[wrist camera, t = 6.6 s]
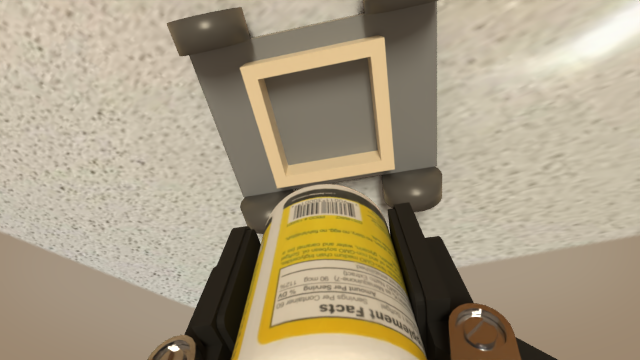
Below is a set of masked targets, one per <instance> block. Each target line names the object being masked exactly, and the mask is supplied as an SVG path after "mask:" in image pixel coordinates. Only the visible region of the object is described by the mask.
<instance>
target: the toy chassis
mask: <svg viewBox="0 0 640 360" xmlns="http://www.w3.org/2000/svg"><path fill="white" fill-rule="evenodd" d="M437 1H438V0H363V5H364V13H363V14H358V15H354V16H349V17H345V18H340V19H335V20H331V21H326V22H322V23H317V24H313V25H308V26H304V27H299V28H294V29H290V30H285V31H281V32H276V33H272V34H267V35H262V36H258V37H253V38H250V35H249V32H248V28H247V25H246V21H245V18H244V14H243V10H242V7H239V8H232V9H226V10H221V11H215V12H210V13H206V14H201V15H196V16H192V17H188V18H184V19H180V20H176V21H172V22H169V23H167V26H168V28H169V31H170V33H171V36H172V38H173V41H174V43H175V46H176V48H177V51H178V53H179V56H187V55H189V56H190V59H191V61H192V64H193V67H194V69H195V72H196V74H197V77H198V80H199V82H200V85H201V87H202V90H203V93H204V95H205V98H206V100H207V103H208V106H209V108H210V111H211V113H212V116H213V119H214V121H215V124H216V126H217V129H218V132H219V134H220V137H221V139H222V142H223V145H224V147H225V150H226V152H227V155H228V158H229V160H230V163H231V165H232V168H233V171H234V173H235V176H236V178H237V181H238V184H239V186H240V189H241V191H242V194H243V197H245V198H244V199H243V201H242V202H241V205H240V208H241V211H242V213H243V216H244V219H245V221H246V224H247V226H249V227H250V229H254V230H255V231H256V233H259V234H264V230H265V227H266V224H267V221H268V219H269V217H270V215H271V213H272V211H273V210H274V208H275V207H276V206H277V205H278V204H279V203H280V202H281V201H282V200H283V199H284V198H285V197H287V196H288V195H290V194H291V193H293V192H294V191H293V189H297V188H303V187H309V186H313V185H321V184H328V183H334V182H340V181H346V180H353V179H359V178H365V177H371V176H378V175H382V184H383V194H384V200H385V202H386V203H387V204H388V205H389V206H390V207H392V208H393V204H400V203H407V202H409V203H410V205H411V207H412V209H413V212H419V211H424V210H428V209H430V208H432V207H434V206H436V205H437V204H438V203H439V202H440V201H441V198H442V173H441V171H440V170H439V169H438V168H436V167H435V166H437Z"/></svg>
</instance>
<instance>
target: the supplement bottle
mask: <svg viewBox="0 0 640 360" xmlns="http://www.w3.org/2000/svg"><path fill="white" fill-rule="evenodd" d="M231 360H427V357H426V354H425V350H424V347H423V343H422V340H421V337H420V333H419V330H418V327H417V324H416V320H415V316H414V313H413V310H412V307H411V303H410V300H409V296H408V293H407V290H406V286H405V283H404V280H403V276H402V273H401V269H400V266H399V263H398V259H397V256H396V253H395V250H394V246H393V243H392V240H391V236H390V233H389V230H388V226H387V223H386V221H385V218H384V216H383V214H382V212H381V211H380V209H379V208H378V207H377V205H376V204H375V203H374V202H373V201H372V200H370V199H369V198H368V197H366V196H365V195H363V194H362V193H360V192H358V191H356V190H353V189H351V188H348V187H345V186H340V185H333V184H321V185H313V186H309V187H305V188H302V189H299V190H297V191H295V192H293V193H291V194H290V195H288V196H287V197H285V198H284V199H283V200H282V201H281V202H280V203H279V204H278V205H277V206H276V207H275V208H274V210H273V211H272V213H271V215H270V217H269V219H268V221H267V224H266V227H265V230H264V234H263V239H262V242H261V246H260V250H259V254H258V258H257V262H256V266H255V270H254V274H253V278H252V282H251V286H250V290H249V294H248V297H247V301H246V305H245V309H244V313H243V317H242V321H241V324H240V328H239V332H238V336H237V340H236V344H235V347H234V351H233V354H232V358H231Z"/></svg>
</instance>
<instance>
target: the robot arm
mask: <svg viewBox="0 0 640 360" xmlns="http://www.w3.org/2000/svg"><path fill="white" fill-rule="evenodd" d="M388 216H389V226H390V236H391V240H392V243H393V246H394V250H395V253H396V256H397V259H398V263H399V266H400V269H401V273H402V276H403V280H404V283H405V286H406V290H407V293H408V296H409V300H410V303H411V307H412V310H413V313H414V316H415V320H416V324H417V327H418V330H419V333H420V337H421V340H422V343H423V347H424V350H425V354H426V357H427V360H557V359H556V358H553V357H552V356H550V355H548V354H546V353H544V352H542V351H540V350H539V349H536V348H535V347H533V346H531V345H529V344H527V343H525V342H524V341H522V340H520V339H518V338H516V337H515V334H514V331H513V329H512V327H511V324H510V323H509V322H508V321H507V319H506V318H505V317H504V316H503V315H502V314H500V313H499V312H498V311H496V310H494V309H493V308H490V307H488V306H486V305H482V304H477V303H473V301H472V299H471V297H470V295H469V292H468V291H467V288H466V286H465V284H464V282H463V281H462V279H461V276H460V274H459V272H458V270H457V268H456V266H455V264H454V262H453V260H452V258H451V256H450V254H449V252H448V250H447V248H446V246H445V244H444V242H443V240H442V239H441V237H439V236H436V237H428V238H425V237H424V235H423V233H422V230H421V228H420V226H419V223H418V221H417V219H416V216H415V214H414V212H413V209H412V207H411V205H410V203H409V202H407V203H400V204H393V209H388ZM260 246H261V244H260V241H259V239H258V236H257V234H256V231H255V230H254V229H250V227H249V226H245V227H238V228H233V229H232V231H231V233H230V235H229V238H228V240H227V243H226V245H225V247H224V250H223V252H222V255H221V257H220V259H219V262H218V264H217V266H216V267H214V268H213V270H212V272H211V274H210V276H209V278H208V281H207V283H206V285H205V288H204V290H203V293H202V295H201V297H200V300H199V302H198V304H197V307H196V309H195V311H194V314H193V316H192V318H191V321H190V323H189V325H188V328H187V330H186V332H185V335H179V336H174V337H172V338H170V339H168V340H166V341H164V342H163V343H162V344H160V345H159V346H158V347H157V348H156V349H155V350H154V351H153V352H152V353H151V355H150V356H149V358H148V359H147V360H231V358H232V354H233V351H234V347H235V344H236V340H237V336H238V332H239V328H240V324H241V321H242V317H243V313H244V309H245V305H246V301H247V297H248V294H249V290H250V286H251V282H252V278H253V274H254V270H255V266H256V262H257V258H258V254H259V250H260Z"/></svg>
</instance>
